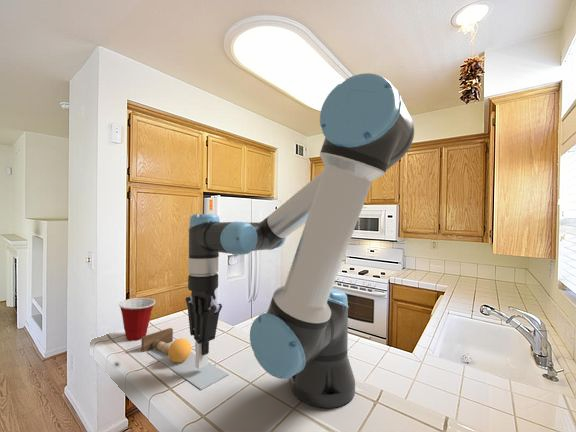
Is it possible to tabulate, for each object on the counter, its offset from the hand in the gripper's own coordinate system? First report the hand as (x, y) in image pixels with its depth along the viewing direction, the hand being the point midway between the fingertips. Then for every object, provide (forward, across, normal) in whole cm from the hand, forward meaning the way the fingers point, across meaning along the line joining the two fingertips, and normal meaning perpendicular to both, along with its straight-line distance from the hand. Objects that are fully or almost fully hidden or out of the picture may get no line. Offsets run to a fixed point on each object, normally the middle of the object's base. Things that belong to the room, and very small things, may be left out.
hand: (201, 365), depth 67 cm
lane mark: (+2, +8, 0) cm, 8 cm away
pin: (+1, +14, 0) cm, 14 cm away
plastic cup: (+2, +36, +2) cm, 36 cm away
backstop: (+2, +24, 0) cm, 24 cm away
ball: (-1, +10, 0) cm, 10 cm away
